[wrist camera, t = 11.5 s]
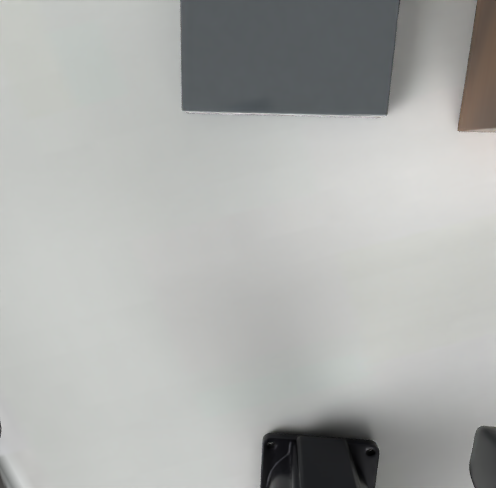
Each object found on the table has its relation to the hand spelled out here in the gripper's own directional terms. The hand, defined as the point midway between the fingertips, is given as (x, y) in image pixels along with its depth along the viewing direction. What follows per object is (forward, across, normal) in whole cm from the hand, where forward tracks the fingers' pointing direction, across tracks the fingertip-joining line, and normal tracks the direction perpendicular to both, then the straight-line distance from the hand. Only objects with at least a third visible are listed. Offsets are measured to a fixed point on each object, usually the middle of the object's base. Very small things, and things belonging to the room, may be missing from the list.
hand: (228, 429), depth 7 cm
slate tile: (+13, -1, -11) cm, 17 cm away
